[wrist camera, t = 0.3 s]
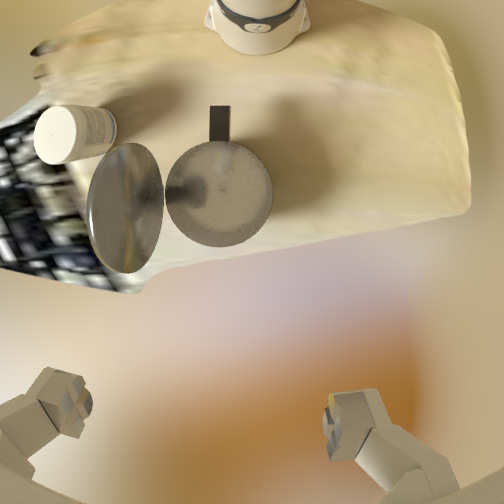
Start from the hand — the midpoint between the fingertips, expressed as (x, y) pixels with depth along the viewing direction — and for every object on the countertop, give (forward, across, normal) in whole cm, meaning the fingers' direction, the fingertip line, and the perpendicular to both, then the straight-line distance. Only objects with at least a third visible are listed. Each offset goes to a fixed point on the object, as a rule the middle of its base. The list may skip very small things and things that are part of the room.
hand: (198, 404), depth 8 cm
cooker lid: (+28, +13, 0) cm, 31 cm away
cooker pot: (+47, +3, -2) cm, 47 cm away
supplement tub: (+47, +28, -11) cm, 56 cm away
